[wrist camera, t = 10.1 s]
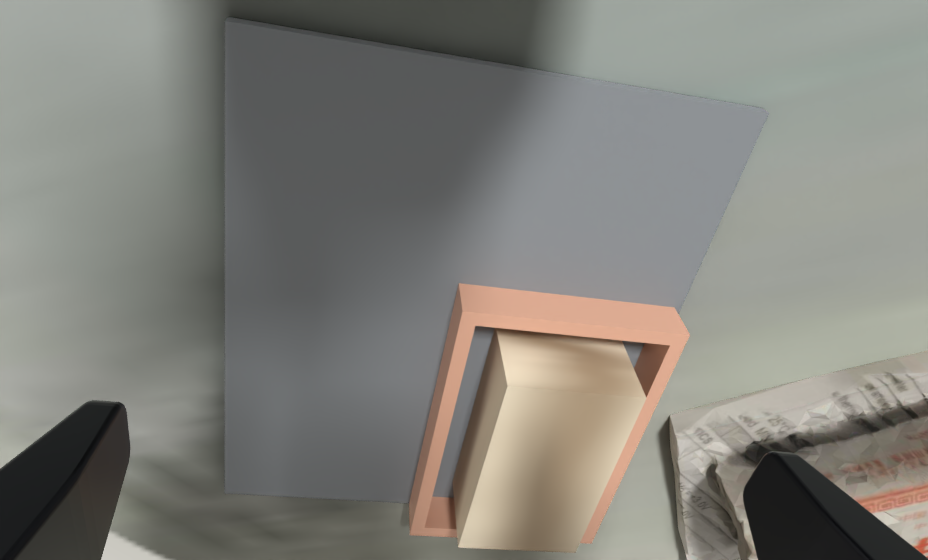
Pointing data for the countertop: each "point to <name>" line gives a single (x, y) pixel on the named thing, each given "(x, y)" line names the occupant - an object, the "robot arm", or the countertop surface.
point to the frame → (547, 316)
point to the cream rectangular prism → (543, 439)
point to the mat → (429, 235)
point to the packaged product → (807, 451)
